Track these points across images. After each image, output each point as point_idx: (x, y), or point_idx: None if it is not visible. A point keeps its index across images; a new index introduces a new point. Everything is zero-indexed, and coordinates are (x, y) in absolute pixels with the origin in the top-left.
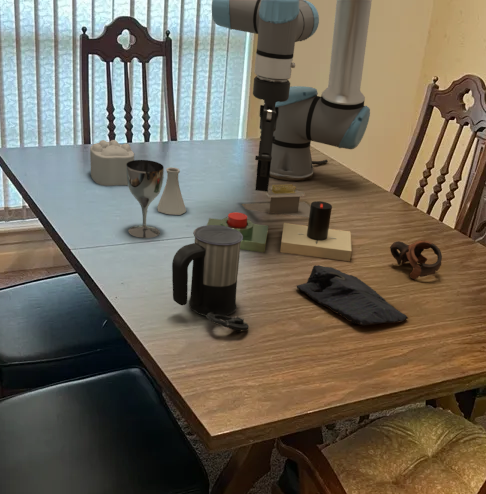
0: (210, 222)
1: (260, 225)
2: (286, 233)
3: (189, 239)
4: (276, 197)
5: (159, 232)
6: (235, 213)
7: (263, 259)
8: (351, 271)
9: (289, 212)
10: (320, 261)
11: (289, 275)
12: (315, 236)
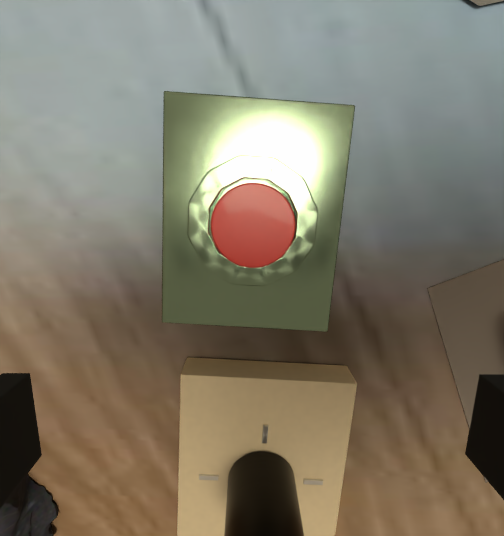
0: (306, 113)
1: (321, 305)
2: (260, 391)
3: (207, 46)
4: None
5: None
6: (279, 215)
7: (118, 309)
8: (119, 529)
9: None
10: (158, 461)
11: (31, 380)
12: (228, 482)
